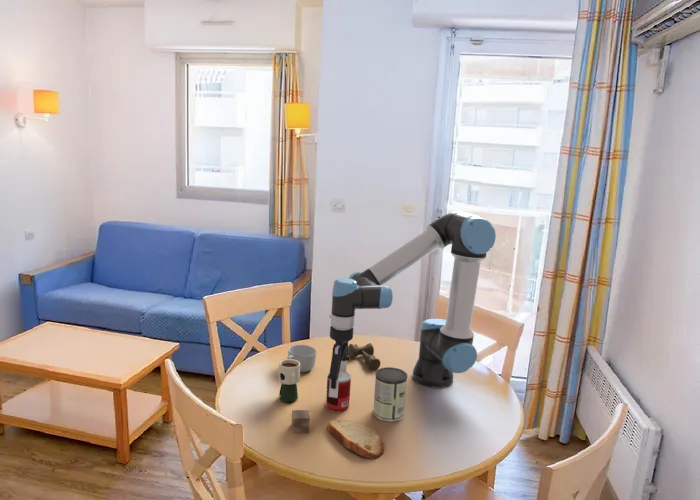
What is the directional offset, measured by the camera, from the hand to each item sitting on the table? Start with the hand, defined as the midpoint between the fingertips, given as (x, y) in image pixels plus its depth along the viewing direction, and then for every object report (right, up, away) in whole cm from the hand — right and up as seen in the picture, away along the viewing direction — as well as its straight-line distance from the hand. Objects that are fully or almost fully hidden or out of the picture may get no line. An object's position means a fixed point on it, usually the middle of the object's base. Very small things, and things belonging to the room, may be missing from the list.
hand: (337, 387), depth 183 cm
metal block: (-11, -9, -13) cm, 20 cm away
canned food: (0, -7, +2) cm, 7 cm away
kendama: (+10, +1, +40) cm, 41 cm away
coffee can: (+17, -8, -1) cm, 19 cm away
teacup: (-15, 0, +27) cm, 31 cm away
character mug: (-17, -5, +5) cm, 18 cm away
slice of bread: (+5, -12, -18) cm, 22 cm away
